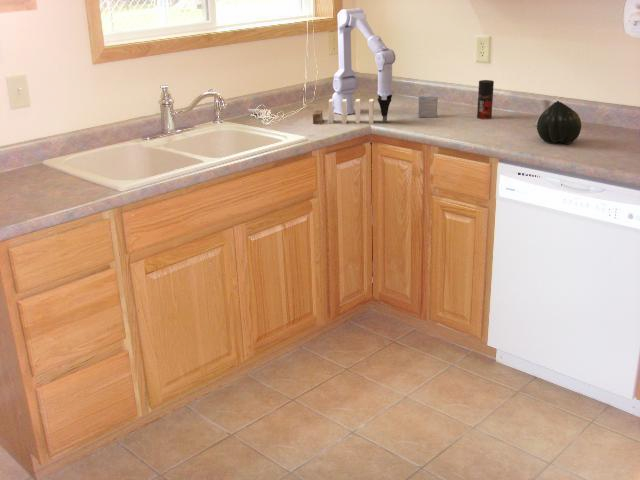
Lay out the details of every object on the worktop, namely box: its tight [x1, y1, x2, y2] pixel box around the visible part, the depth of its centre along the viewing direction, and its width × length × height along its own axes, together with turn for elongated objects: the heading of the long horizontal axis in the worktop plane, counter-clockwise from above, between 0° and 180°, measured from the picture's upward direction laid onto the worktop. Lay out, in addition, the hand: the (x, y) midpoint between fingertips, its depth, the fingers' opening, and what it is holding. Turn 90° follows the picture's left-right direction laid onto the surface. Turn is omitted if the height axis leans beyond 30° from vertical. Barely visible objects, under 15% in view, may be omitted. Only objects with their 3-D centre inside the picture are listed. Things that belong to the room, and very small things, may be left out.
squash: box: [536, 100, 582, 145], centre depth 267 cm, size 14×15×15 cm
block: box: [312, 109, 324, 125], centre depth 308 cm, size 3×8×4 cm, turn 173°
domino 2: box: [341, 99, 348, 124], centre depth 306 cm, size 2×5×9 cm, turn 173°
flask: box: [534, 99, 552, 128], centre depth 290 cm, size 7×7×10 cm
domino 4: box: [368, 98, 375, 124], centre depth 304 cm, size 2×5×9 cm, turn 173°
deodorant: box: [476, 79, 495, 120], centre depth 305 cm, size 6×6×15 cm
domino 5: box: [382, 115, 388, 123], centre depth 303 cm, size 2×5×9 cm, turn 173°
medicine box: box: [417, 94, 439, 118], centre depth 311 cm, size 8×4×9 cm, turn 84°
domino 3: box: [354, 98, 361, 124], centre depth 305 cm, size 2×5×9 cm, turn 173°
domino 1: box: [328, 98, 335, 124], centre depth 306 cm, size 2×5×9 cm, turn 173°
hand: (384, 114), depth 304 cm, fingers closed on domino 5, 5 cm apart
